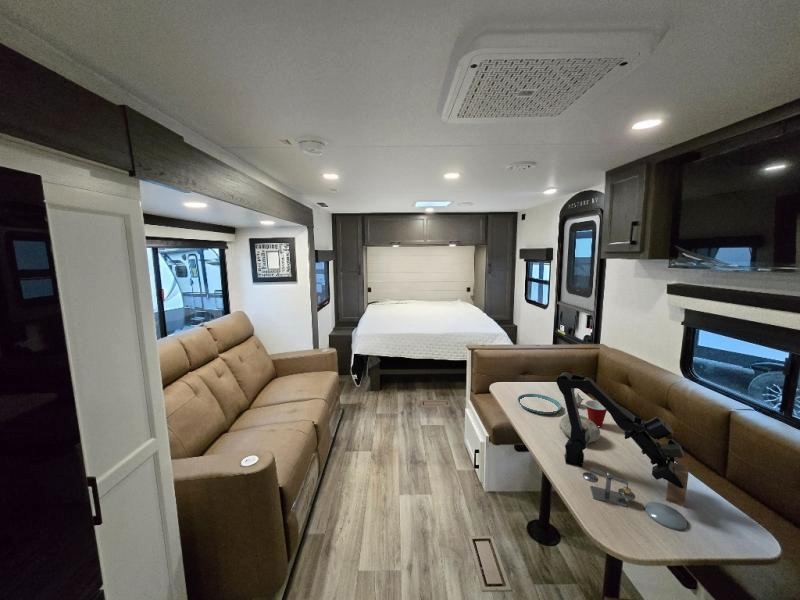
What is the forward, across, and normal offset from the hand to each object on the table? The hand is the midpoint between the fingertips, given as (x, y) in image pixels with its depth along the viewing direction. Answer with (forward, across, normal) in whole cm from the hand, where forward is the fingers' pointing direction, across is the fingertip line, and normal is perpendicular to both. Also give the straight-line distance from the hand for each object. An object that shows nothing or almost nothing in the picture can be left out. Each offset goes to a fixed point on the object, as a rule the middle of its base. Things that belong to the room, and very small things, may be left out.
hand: (682, 483), depth 114 cm
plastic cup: (-19, +43, +29) cm, 55 cm away
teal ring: (-40, +45, +51) cm, 79 cm away
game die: (-29, +61, +39) cm, 78 cm away
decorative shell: (-22, +23, +32) cm, 45 cm away
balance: (-10, -15, +20) cm, 26 cm away
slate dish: (+2, -12, +8) cm, 15 cm away
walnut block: (+4, 0, +6) cm, 7 cm away
